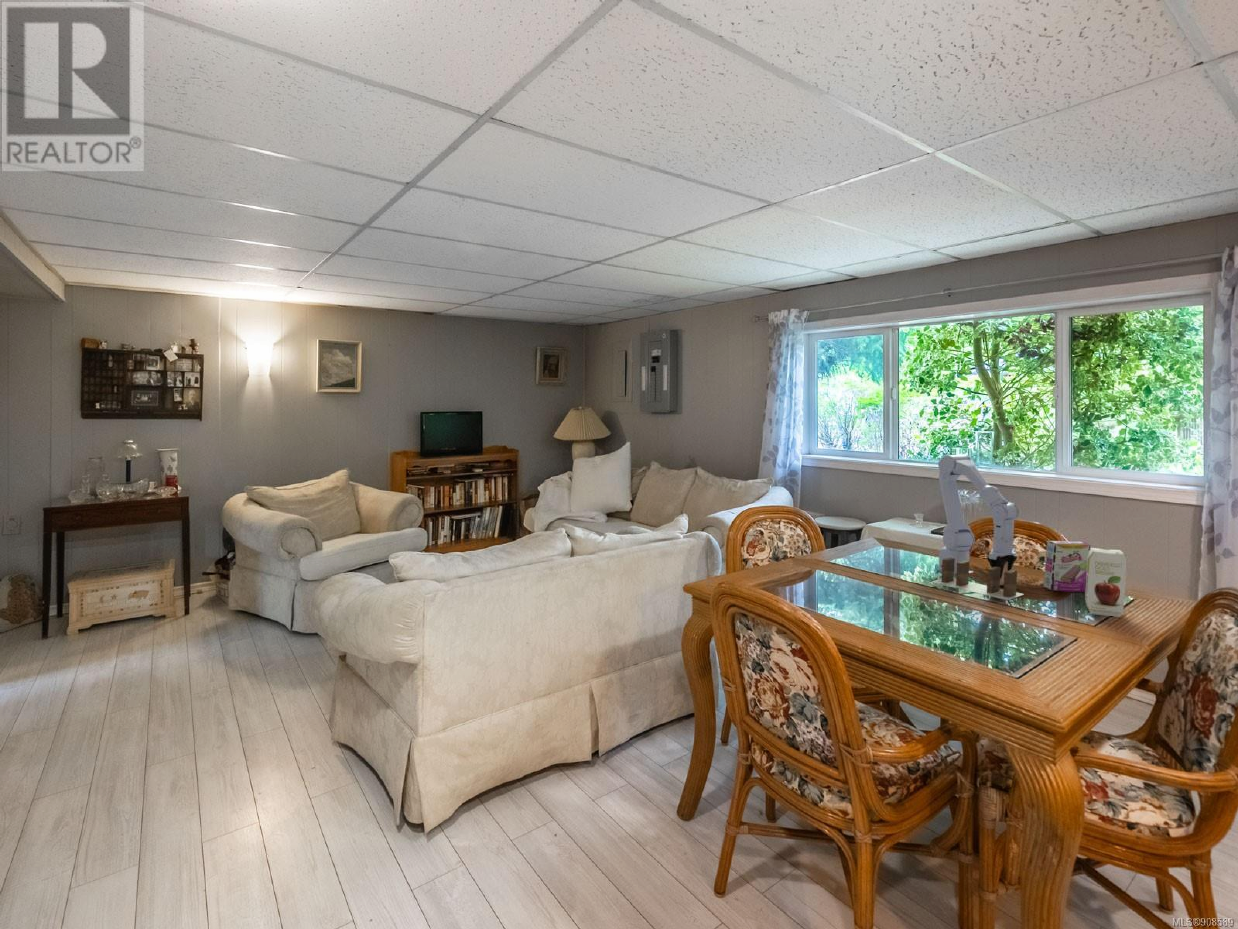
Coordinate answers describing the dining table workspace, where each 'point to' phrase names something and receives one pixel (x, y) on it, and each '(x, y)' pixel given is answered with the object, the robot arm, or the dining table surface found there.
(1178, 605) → the dining table surface
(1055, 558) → the candy bar box
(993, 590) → the domino
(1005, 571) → the domino
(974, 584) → the board
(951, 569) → the domino
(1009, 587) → the domino
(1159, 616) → the dining table surface
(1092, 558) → the juice carton
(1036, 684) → the dining table surface
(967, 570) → the domino
